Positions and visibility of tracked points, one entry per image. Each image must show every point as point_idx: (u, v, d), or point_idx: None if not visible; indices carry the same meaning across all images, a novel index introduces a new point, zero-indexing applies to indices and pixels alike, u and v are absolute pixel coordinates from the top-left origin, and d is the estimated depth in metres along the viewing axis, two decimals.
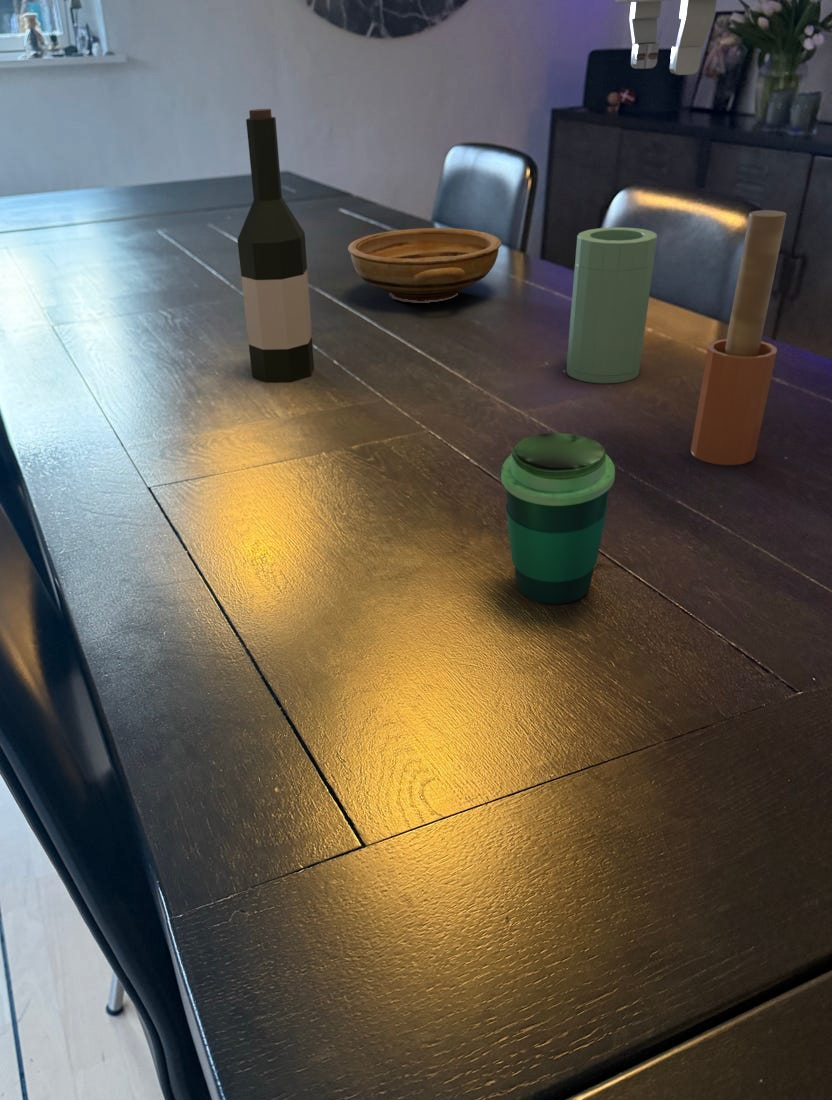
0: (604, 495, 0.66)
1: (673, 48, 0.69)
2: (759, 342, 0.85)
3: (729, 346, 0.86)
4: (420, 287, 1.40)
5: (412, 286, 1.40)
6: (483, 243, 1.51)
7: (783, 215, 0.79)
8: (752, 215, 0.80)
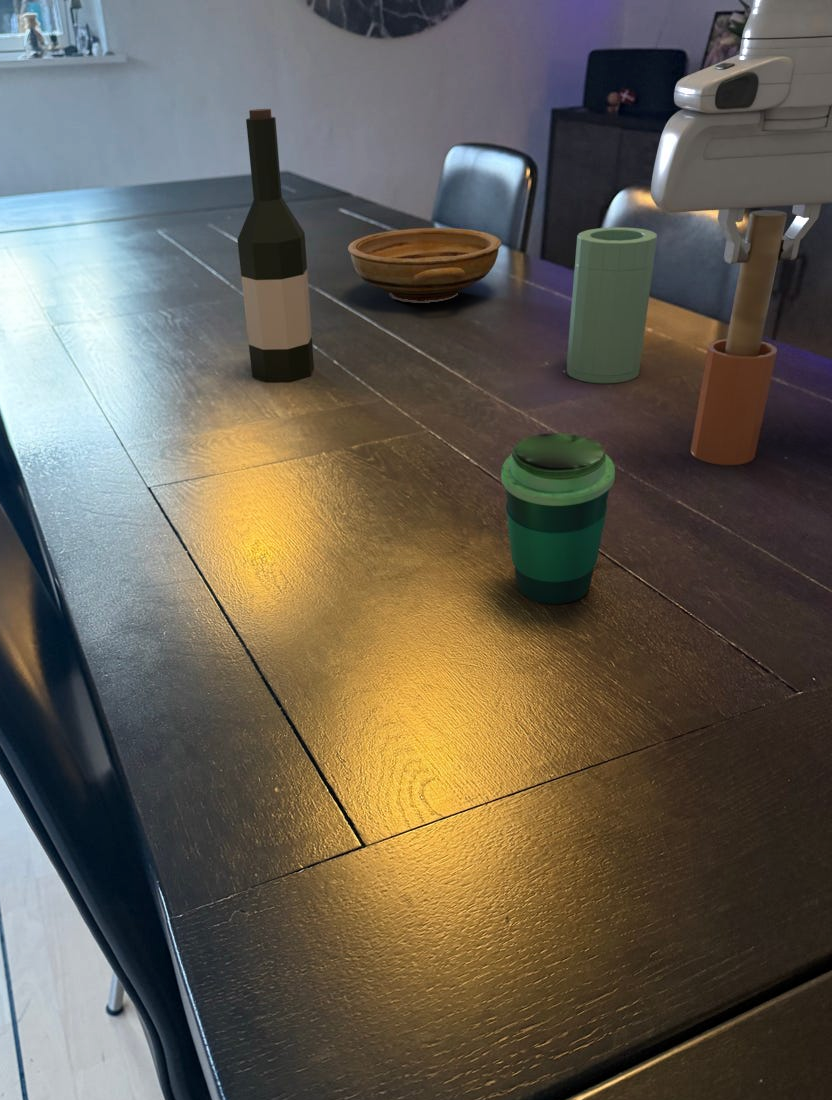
0: (604, 495, 0.66)
1: (788, 241, 0.81)
2: (759, 342, 0.85)
3: (729, 346, 0.86)
4: (420, 287, 1.40)
5: (412, 286, 1.40)
6: (483, 243, 1.51)
7: (784, 215, 0.79)
8: (753, 215, 0.80)
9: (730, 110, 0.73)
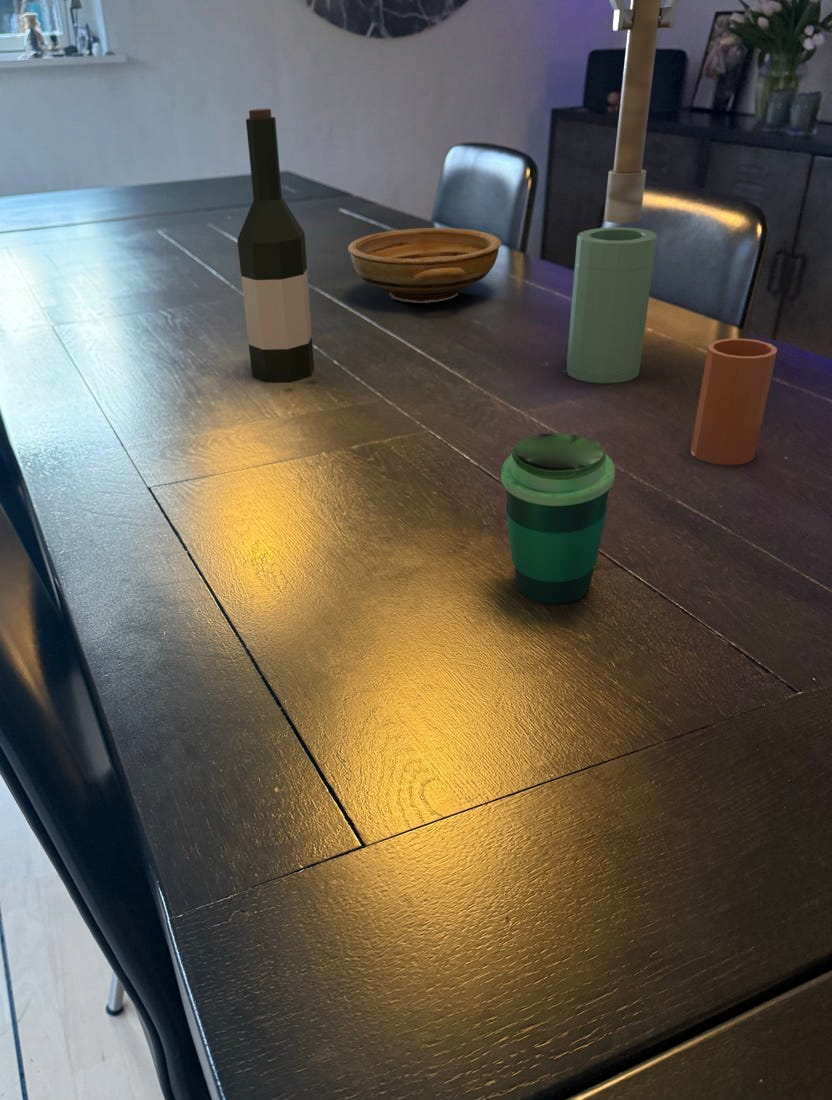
0: (604, 495, 0.66)
1: (665, 8, 0.93)
2: (646, 107, 0.98)
3: (621, 113, 0.99)
4: (420, 287, 1.40)
5: (412, 286, 1.40)
6: (483, 243, 1.51)
7: None
8: None
9: None
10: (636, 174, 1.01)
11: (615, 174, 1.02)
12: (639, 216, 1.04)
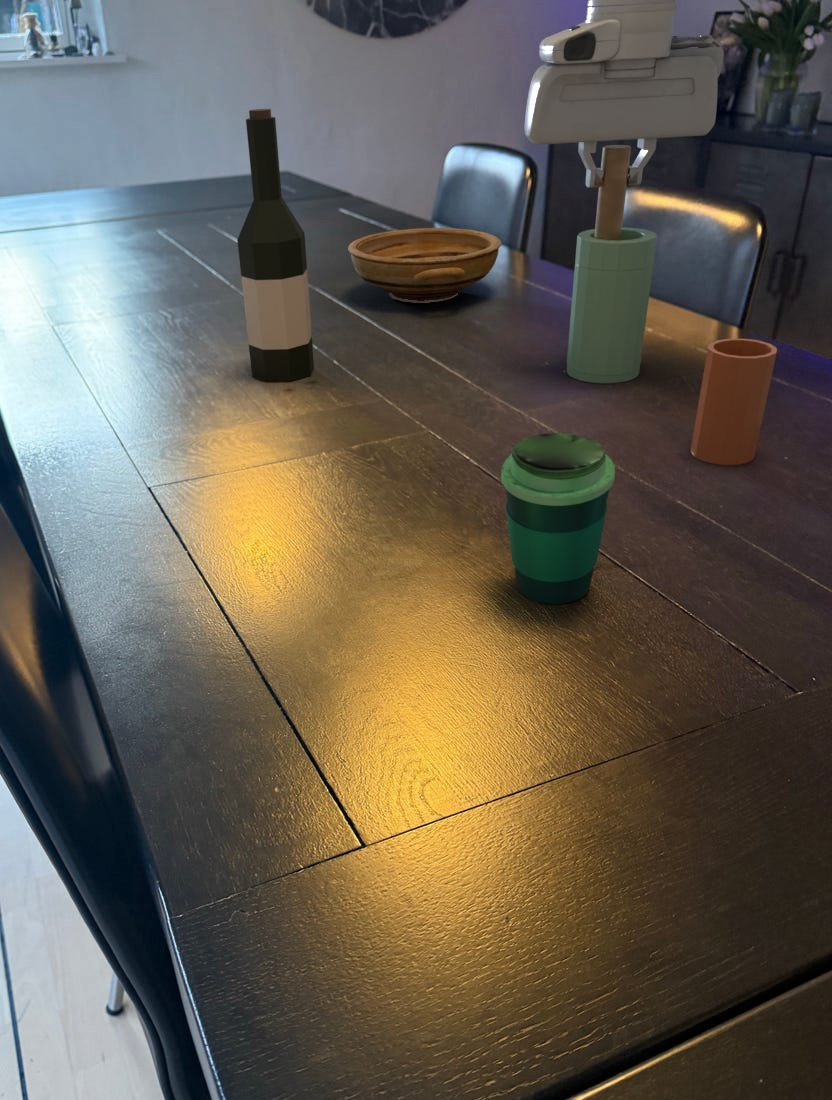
0: (604, 495, 0.66)
1: (633, 169, 1.02)
2: None
3: None
4: (420, 287, 1.40)
5: (412, 286, 1.40)
6: (483, 243, 1.51)
7: (627, 147, 1.01)
8: (604, 148, 1.02)
9: (576, 61, 0.94)
10: None
11: None
12: None
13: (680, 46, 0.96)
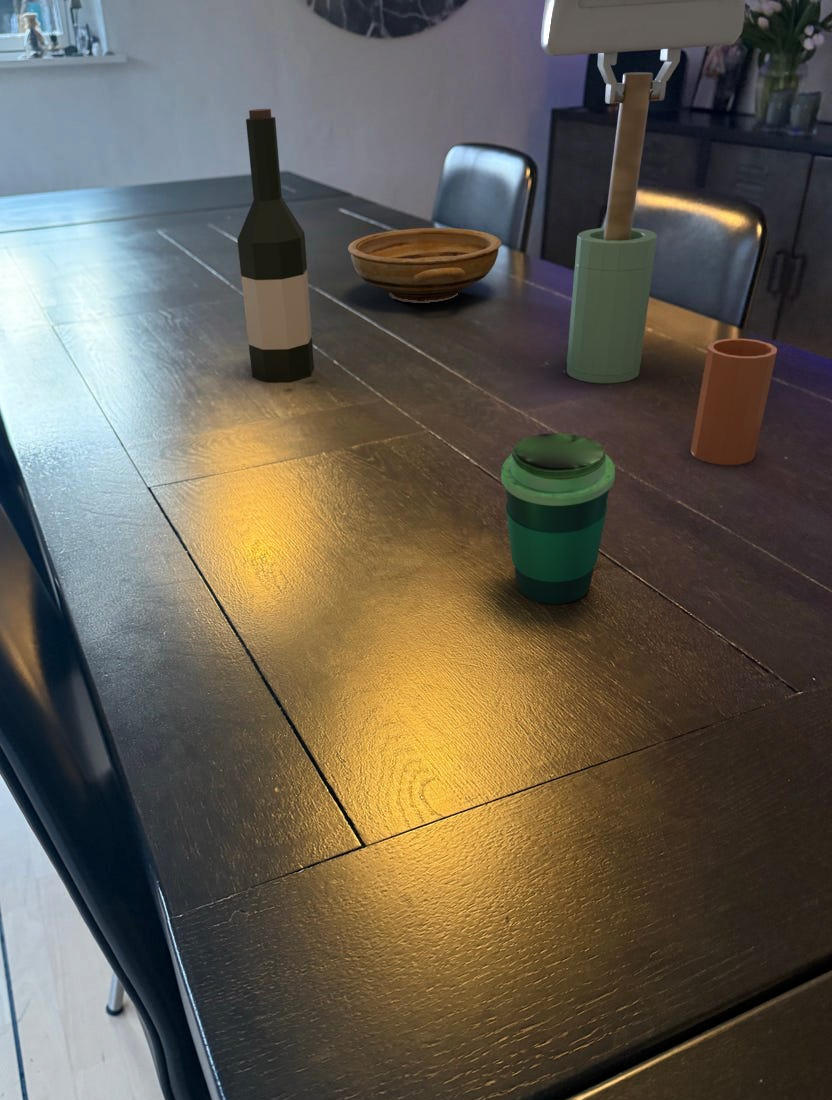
0: (604, 495, 0.66)
1: (656, 82, 0.97)
2: (635, 188, 1.02)
3: (611, 192, 1.03)
4: (420, 287, 1.40)
5: (412, 286, 1.40)
6: (483, 243, 1.51)
7: (649, 74, 0.96)
8: (625, 74, 0.97)
9: None
10: None
11: None
12: None
13: None
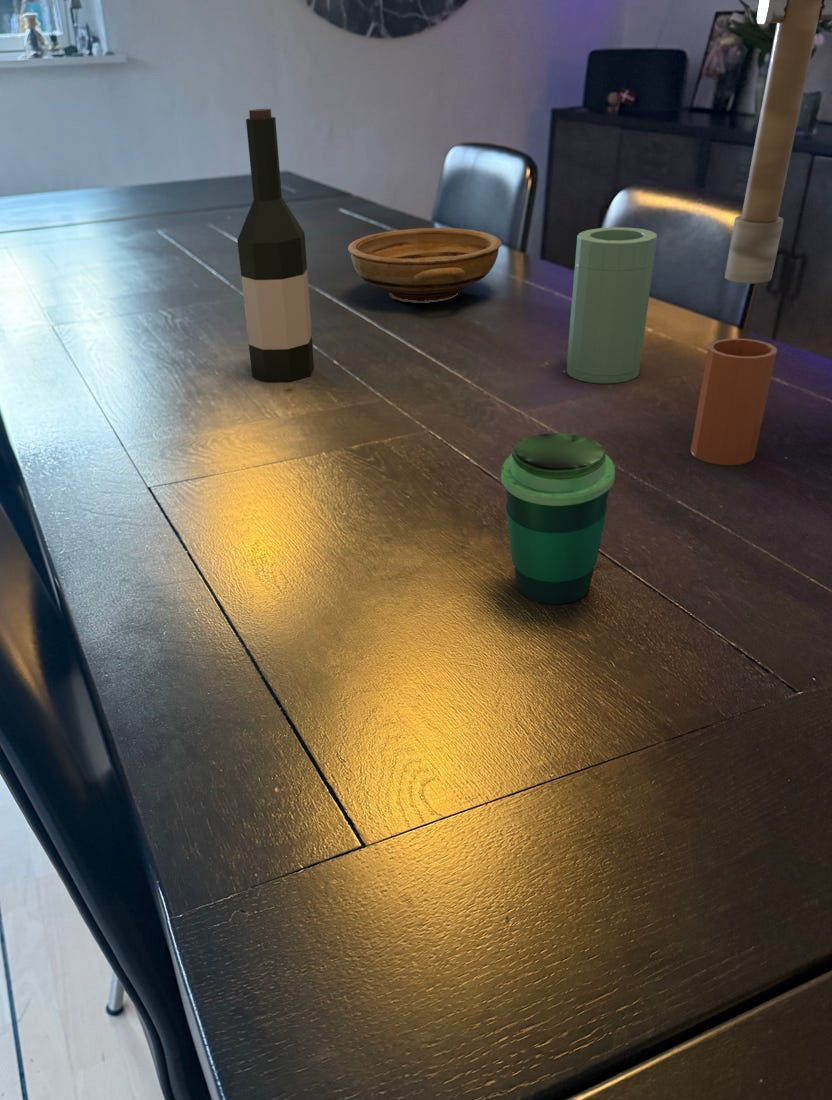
0: (604, 495, 0.66)
1: None
2: (792, 140, 0.77)
3: (758, 147, 0.78)
4: (420, 287, 1.40)
5: (412, 286, 1.40)
6: (483, 243, 1.51)
7: None
8: None
9: None
10: (772, 224, 0.80)
11: (745, 223, 0.81)
12: (771, 274, 0.83)
13: None
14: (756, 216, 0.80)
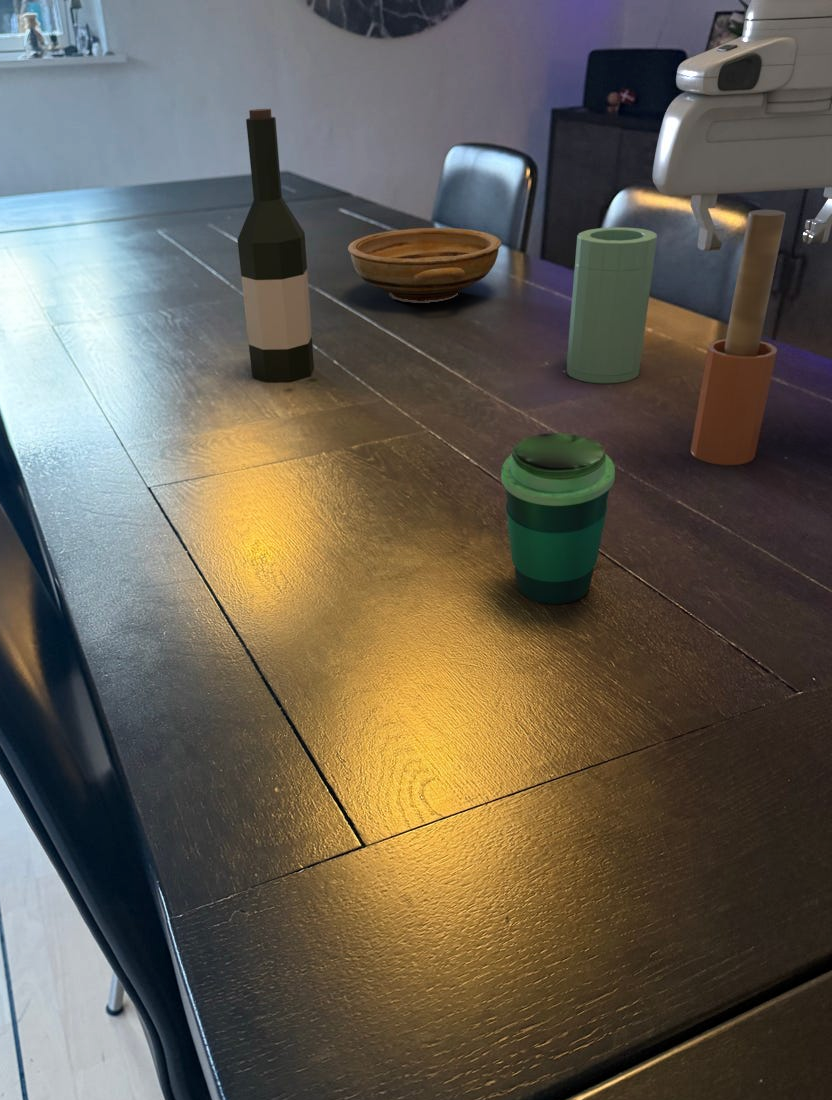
0: (604, 495, 0.66)
1: (819, 224, 0.80)
2: (758, 341, 0.85)
3: (728, 346, 0.86)
4: (420, 287, 1.40)
5: (412, 286, 1.40)
6: (483, 243, 1.51)
7: (782, 214, 0.79)
8: (751, 214, 0.80)
9: (733, 92, 0.72)
10: None
11: None
12: None
13: None
14: None
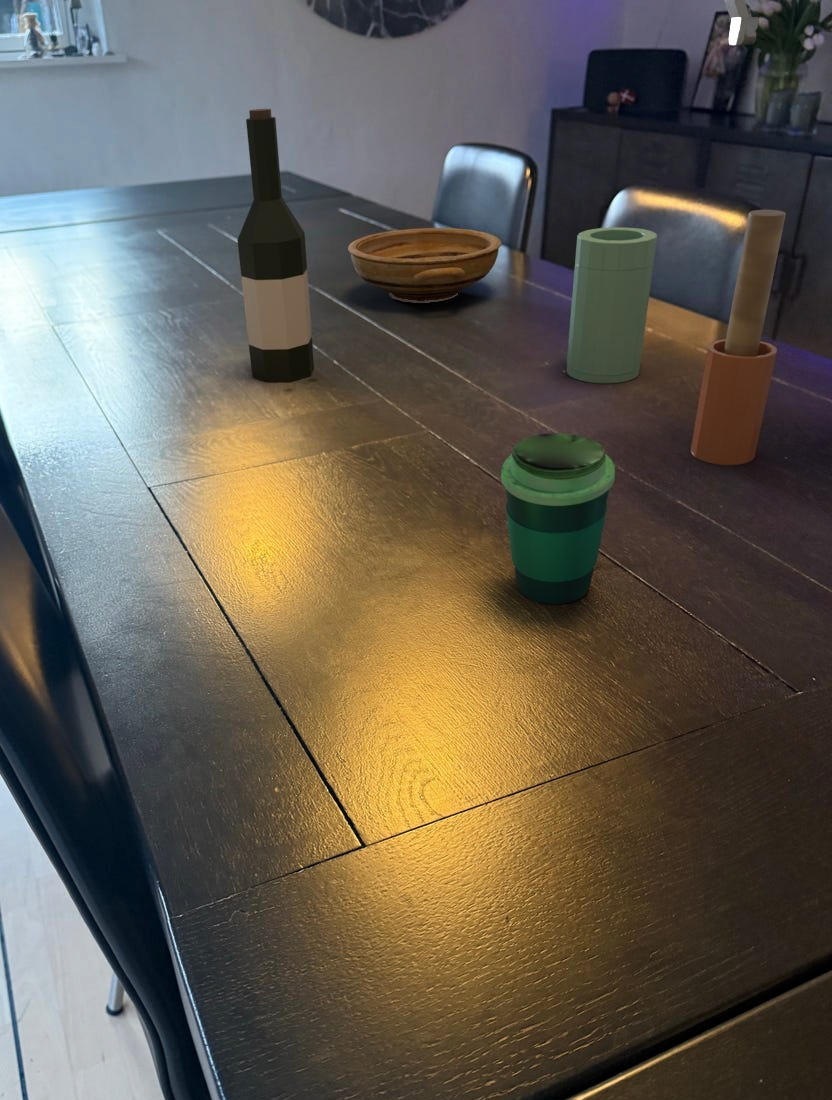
0: (604, 495, 0.66)
1: None
2: (758, 341, 0.85)
3: (728, 346, 0.86)
4: (420, 287, 1.40)
5: (412, 286, 1.40)
6: (483, 243, 1.51)
7: (782, 214, 0.79)
8: (751, 214, 0.80)
9: None
10: None
11: None
12: None
13: None
14: None
